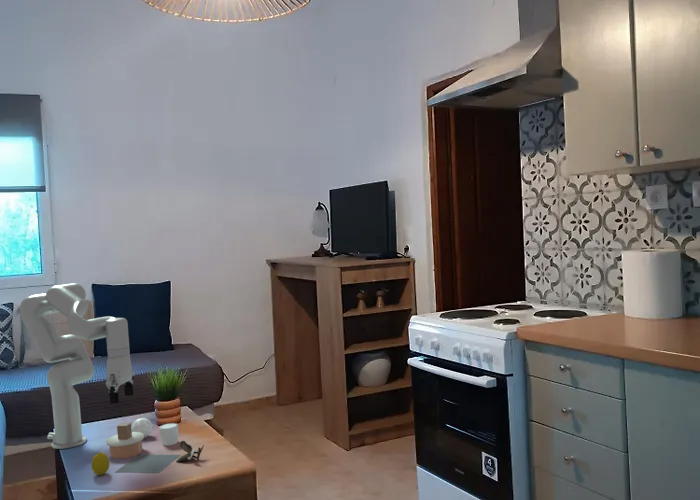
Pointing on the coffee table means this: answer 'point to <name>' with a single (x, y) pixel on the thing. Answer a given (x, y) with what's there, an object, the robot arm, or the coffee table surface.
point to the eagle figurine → (189, 452)
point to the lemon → (100, 463)
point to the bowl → (126, 450)
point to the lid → (124, 436)
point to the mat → (147, 464)
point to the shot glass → (169, 434)
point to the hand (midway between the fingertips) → (122, 399)
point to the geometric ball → (142, 426)
